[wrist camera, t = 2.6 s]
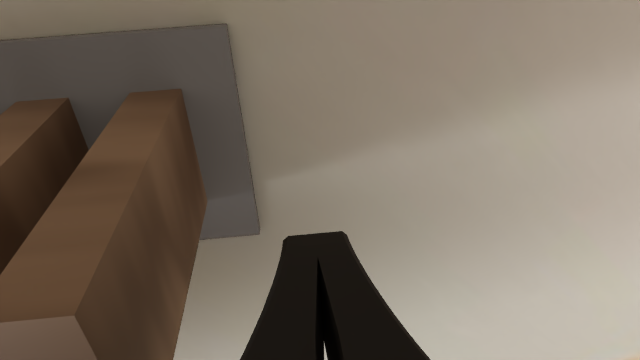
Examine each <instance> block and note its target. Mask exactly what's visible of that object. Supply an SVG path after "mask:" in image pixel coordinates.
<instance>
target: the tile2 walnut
mask: <svg viewBox="0 0 640 360" xmlns="http://www.w3.org/2000/svg"><path fill="white" fill-rule="evenodd" d="M88 151H89V150H88V147H87V145H86V142H85V139H84V137H83V134H82V132H81V129H80V126H79V124H78V121H77V119H76V116H75V113H74V111H73V108H72V106H71V103H70V100H69V98H57V99H44V100H32V101H19V102H15V103H14V104H13V105H12V106H10V107H9V108H8V109H7V110H6V111H4V112H3V113H2V114H1V115H0V275H1V273H2V272H3V270H4V269H5V268H6V266H7V265H8V263H9V262H10V260H11V259H12V258H13V256H14V255H15V253H16V252H17V251H18V249H19V248H20V246H21V245H22V244H23V242H24V241H25V239H26V238H27V237H28V235H29V234H30V232H31V231H32V230H33V228H34V227H35V225H36V224H37V223H38V221H39V220H40V218H41V217H42V216H43V214H44V213H45V211H46V210H47V208H48V207H49V206H50V204H51V203H52V201H53V200H54V199H55V197H56V196H57V194H58V193H59V192H60V190H61V189H62V187H63V186H64V185H65V183H66V182H67V180H68V179H69V178H70V176H71V175H72V173H73V172H74V171H75V169H76V168H77V166H78V165H79V164H80V162H81V161H82V159H83V158H84V157H85V155H86V154H87V152H88Z"/></svg>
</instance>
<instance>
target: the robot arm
mask: <svg viewBox="0 0 640 360" xmlns="http://www.w3.org/2000/svg"><path fill="white" fill-rule="evenodd" d="M324 343H325V348H326V353H327V358H328V360H430V358H429V357H428V356H427V355H426V354H425V353H424V351H423V350H422V349H421V348H420V347H419V345H418V344H417V343H416V342H415V341H414V339H413V338H412V337H411V336H410V334H409V333H408V332H407V330H406V329H405V328H404V327H403V325H402V324H401V323H400V321H399V320H398V319H397V317H396V316H395V315H394V313H393V312H392V311H391V309H390V308H389V306H388V305H387V304H386V302H385V301H384V299H383V298H382V296H381V295H380V293H379V292H378V290H377V289H376V287H375V286H374V284H373V283H372V281H371V280H370V278H369V277H368V275H367V273H366V272H365V270H364V268H363V266H362V265H361V263H360V261H359V259H358V258H357V256H356V254H355V252H354V250H353V248H352V246H351V244H350V242H349V239H348V237H347V235H346V234H345V233H344V232H342V231H339V232H328V233H317V234H306V235H295V236H288V237H287V238H286V239H284V240H283V247H282V252H281V257H280V261H279V265H278V268H277V271H276V275H275V278H274V281H273V284H272V287H271V289H270V292H269V295H268V297H267V300H266V303H265V305H264V308H263V311H262V313H261V315H260V318H259V320H258V322H257V324H256V327H255V329H254V331H253V333H252V335H251V338H250V340H249V342H248V344H247V347H246V349H245V351H244V353H243V355H242V357H241V359H240V360H324Z"/></svg>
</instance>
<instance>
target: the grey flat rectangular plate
mask: <svg viewBox="0 0 640 360" xmlns="http://www.w3.org/2000/svg"><path fill="white" fill-rule="evenodd" d="M170 89H181V90H182V94H183V98H184V103H185V107H186V111H187V116H188V120H189V124H190V128H191V133H192V137H193V141H194V145H195V150H196V154H197V158H198V162H199V167H200V171H201V175H202V179H203V184H204V188H205V192H206V197H207V201H208V202H207V206H206V211H205V215H204V220H203V224H202V229H201V234H200V238H199V240H204V239H215V238H226V237H236V236H247V235H258V234H260V227H259V220H258V214H257V208H256V202H255V196H254V190H253V183H252V177H251V171H250V165H249V159H248V153H247V146H246V140H245V134H244V128H243V122H242V116H241V109H240V103H239V97H238V91H237V85H236V79H235V72H234V66H233V60H232V54H231V48H230V42H229V35H228V29H227V24H217V25H203V26H190V27H176V28H163V29H149V30H136V31H122V32H109V33H95V34H82V35H68V36H55V37H41V38H28V39H14V40H1V41H0V115H1V114H2V113H3V112H4V111H6V110H7V109H8V108H9V107H10V106H12V105H13V104H14V103H15V102H19V101H32V100H44V99H57V98H69V100H70V103H71V106H72V108H73V111H74V113H75V116H76V119H77V121H78V124H79V126H80V129H81V132H82V134H83V137H84V139H85V142H86V145H87V147H88V150H89V149H90V148H91V147H92V145H93V144H94V142H95V141H96V140H97V138H98V137H99V135H100V134H101V133H102V131H103V130H104V128H105V127H106V126H107V124H108V123H109V121H110V120H111V119H112V117H113V116H114V114H115V113H116V112H117V110H118V109H119V107H120V106H121V105H122V103H123V102H124V100H125V99H126V97H127V96H128V95H129V93H132V92H145V91H157V90H170Z"/></svg>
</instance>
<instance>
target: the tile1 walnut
mask: <svg viewBox="0 0 640 360" xmlns="http://www.w3.org/2000/svg"><path fill="white" fill-rule="evenodd" d="M207 202H208V201H207V197H206V192H205V188H204V184H203V179H202V175H201V171H200V167H199V162H198V158H197V154H196V150H195V145H194V141H193V137H192V133H191V128H190V124H189V120H188V116H187V111H186V107H185V103H184V98H183V94H182V90H181V89H170V90H157V91H145V92H132V93H129V95H128V96H127V97H126V99H125V100H124V102H123V103H122V105H121V106H120V107H119V109H118V110H117V112H116V113H115V114H114V116H113V117H112V119H111V120H110V121H109V123H108V124H107V126H106V127H105V128H104V130H103V131H102V133H101V134H100V135H99V137H98V138H97V140H96V141H95V142H94V144H93V145H92V147H91V148H90V149H89V151H88V152H87V154H86V155H85V157H84V158H83V159H82V161H81V162H80V164H79V165H78V166H77V168H76V169H75V171H74V172H73V173H72V175H71V176H70V178H69V179H68V180H67V182H66V183H65V185H64V186H63V187H62V189H61V190H60V192H59V193H58V194H57V196H56V197H55V199H54V200H53V201H52V203H51V204H50V206H49V207H48V208H47V210H46V211H45V213H44V214H43V216H42V217H41V218H40V220H39V221H38V223H37V224H36V225H35V227H34V228H33V230H32V231H31V232H30V234H29V235H28V237H27V238H26V239H25V241H24V242H23V244H22V245H21V246H20V248H19V249H18V251H17V252H16V253H15V255H14V256H13V258H12V259H11V260H10V262H9V263H8V265H7V266H6V268H5V269H4V270H3V272H2V273H1V275H0V360H173V357H174V352H175V348H176V343H177V339H178V334H179V330H180V325H181V320H182V316H183V311H184V307H185V302H186V298H187V293H188V288H189V284H190V279H191V275H192V270H193V266H194V261H195V256H196V252H197V247H198V243H199V238H200V234H201V229H202V224H203V220H204V215H205V211H206V206H207Z"/></svg>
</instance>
